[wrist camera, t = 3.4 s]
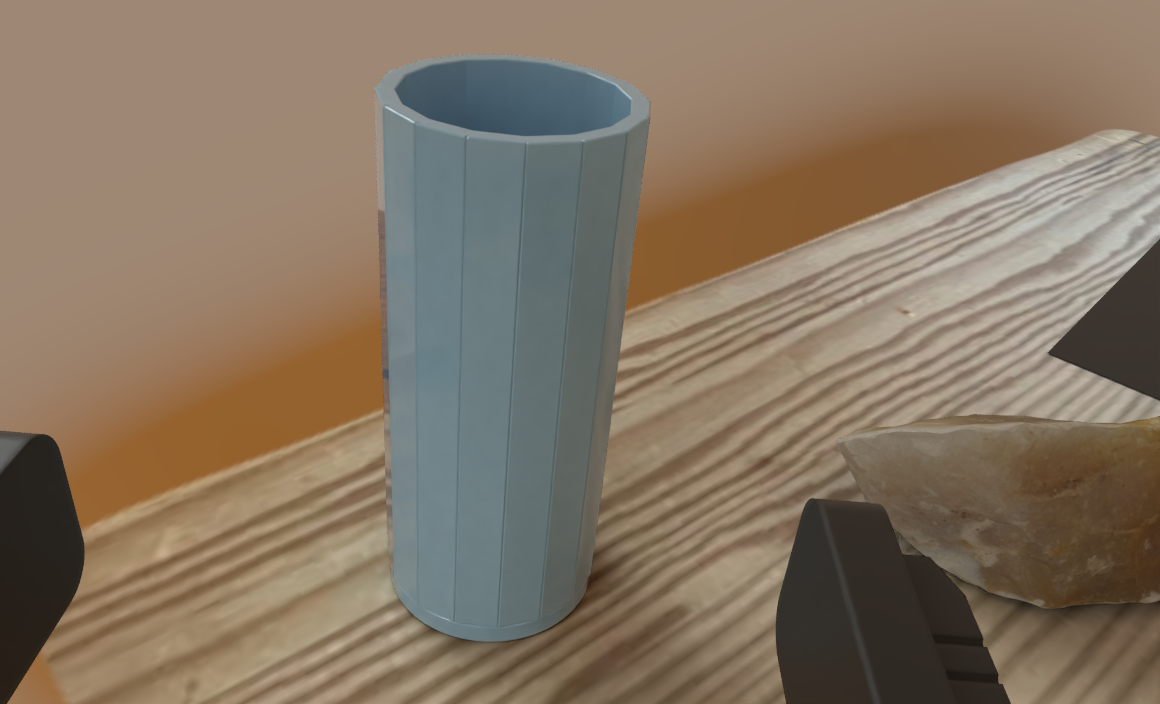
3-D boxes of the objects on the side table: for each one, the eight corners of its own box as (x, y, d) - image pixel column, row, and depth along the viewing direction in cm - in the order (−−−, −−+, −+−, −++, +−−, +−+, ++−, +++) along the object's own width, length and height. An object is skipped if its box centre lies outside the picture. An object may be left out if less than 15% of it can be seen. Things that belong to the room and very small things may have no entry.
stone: (852, 314, 26) (1330, 283, 28) (794, 450, 31) (1207, 414, 33) (959, 546, 21) (1518, 486, 24) (872, 663, 26) (1343, 603, 29)
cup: (530, 676, 23) (575, 166, 16) (347, 589, 25) (317, 96, 18) (622, 540, 27) (689, 89, 20) (460, 475, 29) (471, 39, 22)
